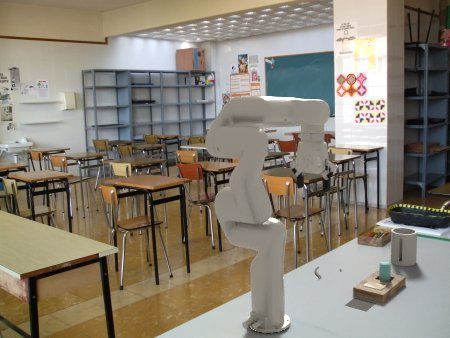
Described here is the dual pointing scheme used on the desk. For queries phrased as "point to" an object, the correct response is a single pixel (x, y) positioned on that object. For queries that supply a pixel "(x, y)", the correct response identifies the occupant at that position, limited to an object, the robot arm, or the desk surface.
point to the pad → (360, 304)
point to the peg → (385, 271)
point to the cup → (403, 246)
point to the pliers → (319, 275)
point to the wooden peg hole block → (379, 287)
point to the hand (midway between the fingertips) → (313, 189)
